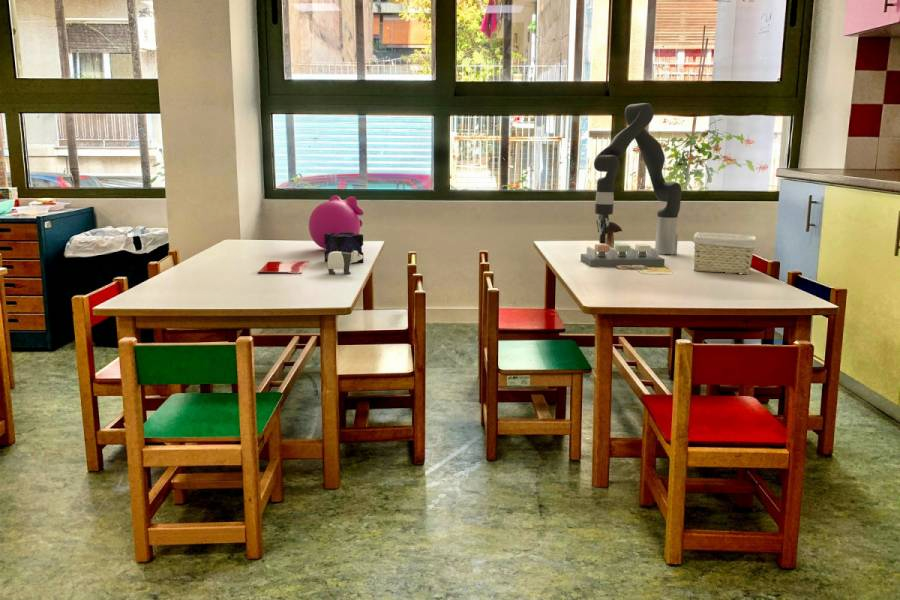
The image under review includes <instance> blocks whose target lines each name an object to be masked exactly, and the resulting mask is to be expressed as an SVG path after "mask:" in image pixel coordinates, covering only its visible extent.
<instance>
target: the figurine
mask: <svg viewBox="0 0 900 600" xmlns="http://www.w3.org/2000/svg"><path fill="white" fill-rule="evenodd" d="M363 215H364V211H363V210H362V208H360V206H358V201H357V198H356V196H352V195H351V196H348V197H346V198H345V199H341V197H340V196H339V195H336V194H335V195H332V196H331V197H330V198H329V200H328V201H325V202H323V203H320V204H319V205H317V206H316V207H315V208H314V209H313V210H312V212H311V213H310V217H309V220H308V232H309V235H310V237H311V239H312V241H313V242H314V243H315V244H316V245H317V246H318V247H319V248H322V249H324V250H326V245H325V244H324V234H326V233H335V234H340V233H341V232H352V233H354V234H360V232H361V227H362V226H363V221H362V220H361V219H360V218H359V216H363Z"/></svg>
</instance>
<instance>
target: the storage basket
mask: <svg viewBox="0 0 900 600" xmlns="http://www.w3.org/2000/svg"><path fill="white" fill-rule="evenodd" d="M693 244H694V247H693V249H694V254H693V257H694V258H693V261H694V262H693V270H694V271H697V272H709V273H720V272H721V273H722V272H725V273H724V274H728V273H731V274H733V273H735V274H736V273H742V274H741V275H747V274H748V275H750V271H751V265H752V259H753V254H754V250H755V248H756V244H757V237H756V236H755V235H747V234H735V233H722V232H721V233H719V232H717V233H716V232H700V231H697V232H695V233H694V235H693Z"/></svg>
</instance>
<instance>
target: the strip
mask: <svg viewBox="0 0 900 600" xmlns="http://www.w3.org/2000/svg"><path fill="white" fill-rule="evenodd" d="M615 268H616V269H617V270H648V266H642V265H632V266H629V265H619V266H615Z"/></svg>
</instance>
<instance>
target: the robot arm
mask: <svg viewBox="0 0 900 600" xmlns="http://www.w3.org/2000/svg"><path fill="white" fill-rule="evenodd" d="M654 115H655V113H654V108H653V106H652V105H651V104H650V103H646V102H645V103H644V102H642V103H631V104H628V105H627V106H626V107H625V110H624V118H625V122H626V124H627V126H626V128H624V129H622V130H621V131H620V132H618V133H617V134H616V135H615V136H614V137H613V139H612V140H611V141H610V143H609V145H608V146H607V147H605V148H604V149H603V150H602V151H600V152H599V153H598V154H597V155H596V156H595V158H594V161H593V168H594V169H595V170H596V171H597V172H600V173H601V172H603V173H606V174H605V176H603V177H598V179H597V180H596V181H597V182H596V193H595V194H596V195H595V203H594V205H595V206H594V207H595V208H594V214H595V215H598V218H597V220H596V228H597V233H598V234H599V241H598V244H605V241H606V236H607V234H608V231H609V228H610V225H611V224H610V223H609V222H610V218H609V215H613V214H614V199H615V195H614V189H615V188H614V187H615V180H616V177H617V174H618V172H619V169H620V160H619V159H620V158H621V157H622V156H623V154H624V153H625V152H626V150H627V149H628V147H629V146H630V144H631V143H632V142H633V140H635V142H636V144H637V147H638V148H639V149H638V150H639V151H640V154H641V157H642V159H643V160H642V161H643V162H644V165H645V167H646V169H647V173H648V175H649V178H650V181H651V185H652V189H653V193H654V195H655V198H656V199H657V201H659V202H664V203H666V205H665V207H663V208H662V209H659V210H658V211H657V217H656V229H655V231H656V232H655V243H654V245H655V246H654V247H655V248H654V249H657V250H659V255H665V254H671V255H677V254H678V253H677V252H678V244H679V241H678V239H679V233H677V230H678V217H679V212H680V210H681V209H680V208H681V203H682V202H681V200H682V193H683V192H682V191H683V190H682V186H681V184H680V183H678V182H674V181H666V180H665V177H664V175H663V169H664V166H665V163H666V162H665V161H666V156H665V152H664V151H663V147H662V145H661V144H660V142H659V141H658V140H657V139H656V138H655V137H654V136H653V135H651V134H650V133H649V132H648V130H646V128H647V127H648V125H650V123H651V122H652V120H653V118H654Z"/></svg>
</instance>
